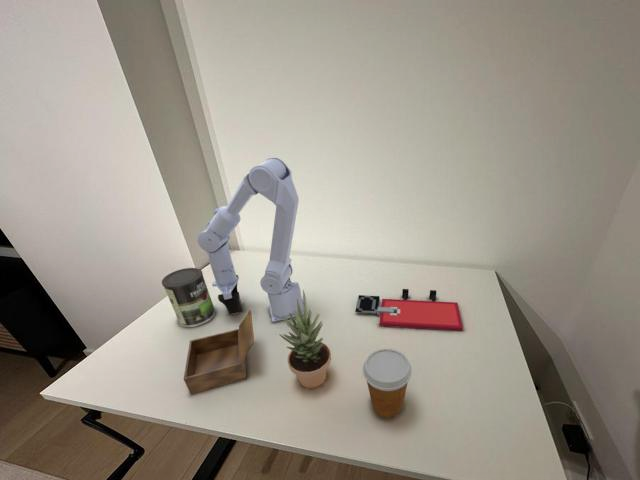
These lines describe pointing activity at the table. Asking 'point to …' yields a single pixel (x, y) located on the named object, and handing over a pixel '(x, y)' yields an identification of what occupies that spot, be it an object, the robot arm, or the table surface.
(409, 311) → the red board with handle
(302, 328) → the potted plant
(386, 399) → the disposable coffee cup
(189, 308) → the coffee can
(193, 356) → the wooden box
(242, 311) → the block
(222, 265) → the robot arm
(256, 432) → the table surface
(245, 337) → the flap
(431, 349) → the table surface
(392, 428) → the table surface
